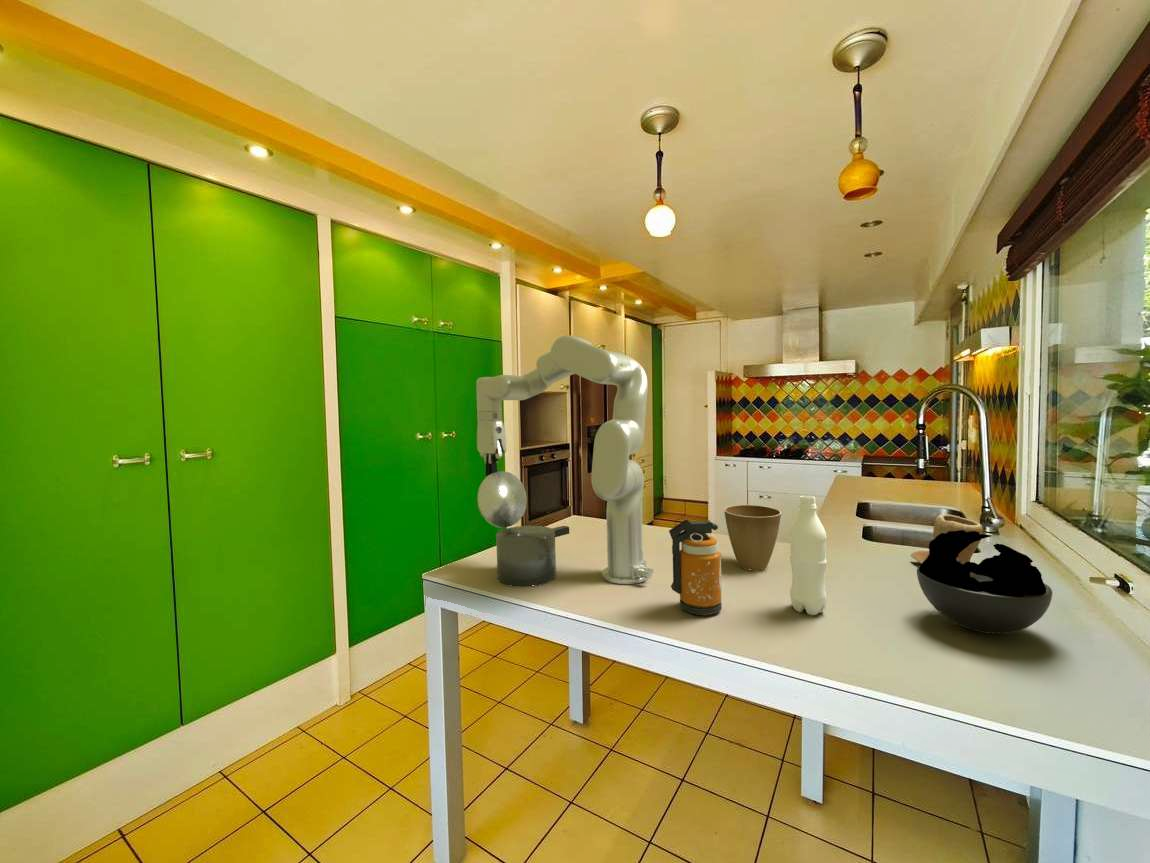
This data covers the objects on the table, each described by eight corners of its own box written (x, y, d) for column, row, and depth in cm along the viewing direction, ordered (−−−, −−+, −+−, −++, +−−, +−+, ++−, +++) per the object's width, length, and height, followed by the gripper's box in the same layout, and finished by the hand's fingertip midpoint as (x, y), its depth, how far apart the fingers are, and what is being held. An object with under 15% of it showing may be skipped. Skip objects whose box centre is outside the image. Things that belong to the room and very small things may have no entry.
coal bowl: (919, 599, 107) (920, 517, 106) (1043, 623, 94) (1045, 530, 93) (912, 633, 91) (913, 537, 90) (1060, 666, 78) (1062, 555, 78)
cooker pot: (586, 569, 133) (585, 527, 133) (520, 591, 118) (519, 544, 117) (546, 556, 146) (545, 518, 146) (483, 575, 131) (481, 532, 130)
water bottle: (812, 620, 98) (811, 501, 97) (782, 607, 104) (782, 496, 103) (834, 612, 101) (833, 497, 100) (804, 601, 108) (803, 492, 106)
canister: (726, 617, 100) (725, 524, 99) (674, 618, 101) (673, 525, 100) (715, 600, 109) (713, 515, 108) (667, 601, 110) (665, 516, 109)
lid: (484, 532, 129) (478, 532, 131) (530, 521, 140) (524, 522, 142) (475, 474, 131) (469, 476, 133) (521, 468, 142) (515, 470, 144)
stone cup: (993, 583, 115) (994, 522, 114) (937, 580, 118) (938, 521, 117) (958, 563, 130) (958, 509, 129) (909, 561, 132) (909, 508, 132)
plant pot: (713, 563, 135) (712, 508, 135) (752, 555, 142) (751, 502, 141) (753, 579, 122) (752, 518, 121) (793, 570, 128) (793, 511, 127)
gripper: (513, 416, 143) (515, 476, 144) (487, 417, 154) (488, 472, 155) (492, 417, 138) (494, 479, 139) (466, 417, 149) (468, 475, 150)
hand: (491, 475), depth 147 cm, fingers closed
